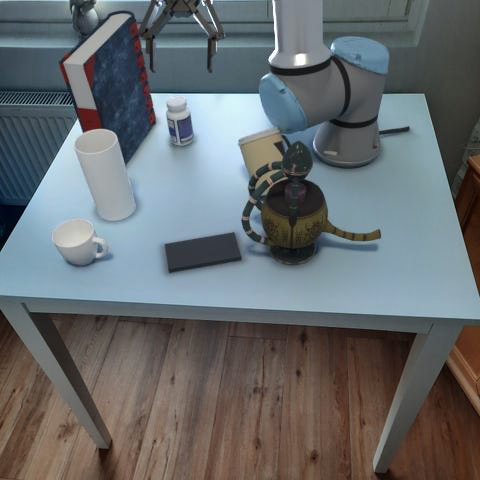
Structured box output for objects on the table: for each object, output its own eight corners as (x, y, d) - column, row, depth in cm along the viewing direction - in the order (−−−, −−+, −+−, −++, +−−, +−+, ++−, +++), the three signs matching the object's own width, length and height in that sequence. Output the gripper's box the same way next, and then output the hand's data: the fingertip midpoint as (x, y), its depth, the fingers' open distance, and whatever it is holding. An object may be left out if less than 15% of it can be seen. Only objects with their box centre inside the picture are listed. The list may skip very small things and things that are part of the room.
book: (136, 115, 123) (111, 8, 103) (161, 118, 122) (140, 10, 102) (93, 173, 109) (55, 61, 89) (121, 176, 108) (88, 64, 88)
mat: (234, 235, 94) (234, 231, 94) (241, 260, 90) (241, 256, 89) (165, 247, 93) (164, 243, 92) (169, 272, 89) (168, 269, 88)
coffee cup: (297, 185, 96) (282, 124, 92) (253, 199, 96) (236, 139, 93) (292, 183, 104) (278, 127, 101) (252, 195, 105) (236, 141, 102)
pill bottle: (195, 133, 117) (190, 94, 109) (192, 146, 114) (186, 107, 106) (173, 133, 117) (166, 94, 110) (168, 146, 114) (161, 107, 106)
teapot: (250, 224, 96) (246, 117, 77) (375, 232, 93) (402, 122, 75) (242, 267, 89) (236, 161, 70) (377, 277, 86) (408, 168, 67)
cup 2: (74, 241, 95) (63, 216, 90) (120, 248, 94) (111, 222, 88) (57, 269, 91) (44, 244, 85) (105, 276, 89) (94, 251, 84)
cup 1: (141, 198, 103) (124, 131, 90) (126, 223, 98) (105, 156, 85) (107, 193, 104) (85, 126, 91) (91, 217, 99) (65, 150, 87)
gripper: (238, -20, 110) (235, 76, 113) (134, -19, 112) (134, 76, 116) (234, -40, 103) (231, 64, 106) (123, -37, 105) (124, 64, 108)
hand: (181, 70), depth 111 cm, fingers open, 13 cm apart
